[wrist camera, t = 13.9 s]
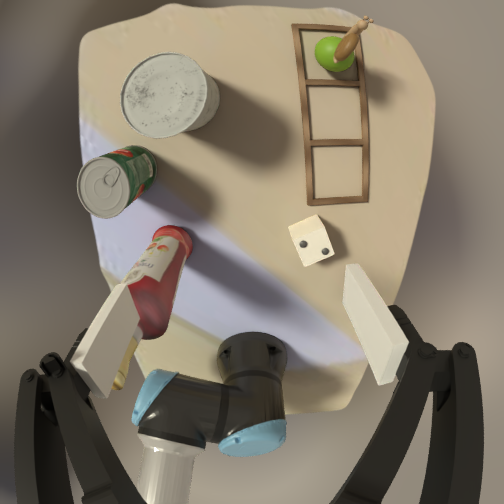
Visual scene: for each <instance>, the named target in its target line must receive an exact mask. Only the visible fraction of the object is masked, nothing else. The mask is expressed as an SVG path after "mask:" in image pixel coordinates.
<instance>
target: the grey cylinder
mask: <svg viewBox="0 0 504 504" xmlns="http://www.w3.org/2000/svg"><path fill="white" fill-rule="evenodd" d="M219 103H220V93H219V88H218V86H217V84H216V82H215V81H214V80H213V79H212V77H210V76H209V75H208V74H207V73H206V72H205V71H203V70H202V69H201V67H200V66H199V65H198V64H197V63H196V62H195V61H194V60H192V59H191V58H189V57H188V56H185V55H183V54H180V53H174V52H164V53H158V54H155V55H152V56H149V57H147V58H146V59H144V60H142V61H141V62H139V63H138V64H137V65H136V66H135V67H134V68H133V69H132V70H131V71H130V73H129V74H128V75H127V77H126V79H125V81H124V83H123V85H122V90H121V94H120V106H121V111H122V114H123V116H124V118H125V120H126V122H127V123H128V124H129V126H130V127H131V128H132V129H133V130H135V131H136V132H137V133H139V134H141V135H144V136H146V137H150V138H168V137H171V136H175V135H177V134H179V133H182V132H186V131H191V130H195V129H198V128H200V127H202V126H204V125H205V124H207V123H208V122H209V121H210V120H211V119H212V118H213V117H214V115H215V114H216V112H217V110H218V107H219Z"/></svg>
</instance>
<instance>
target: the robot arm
mask: <svg viewBox="0 0 504 504" xmlns="http://www.w3.org/2000/svg"><path fill="white" fill-rule="evenodd" d="M342 303H343V305H344V307H345V309H346V312H347V314H348V316H349V318H350V320H351V322H352V325H353V327H354V329H355V331H356V334H357V336H358V338H359V340H360V343H361V345H362V347H363V350H364V352H365V354H366V357H367V359H368V362H369V364H370V366H371V369H372V371H373V373H374V376H375V379H376V381H377V383H378V385H383V384H387V383H390V382H393V380H394V377H395V375H397V377H398V380H399V382H398V384H397V386H396V388H395V390H394V392H393V395H392V398H391V400H390V402H389V404H388V406H387V409H386V411H385V413H384V415H383V417H382V419H381V421H380V423H379V425H378V427H377V429H376V431H375V433H374V435H373V437H372V439H371V440H370V442H369V444H368V446H367V447H366V449H365V451H364V453H363V454H362V456H361V458H360V459H359V461H358V463H357V464H356V466H355V467H354V469H353V471H352V472H351V474H350V475H349V477H348V479H347V480H346V482H345V483H344V484H343V486H342V487H341V489H340V490H339V492H338V493H337V494H336V496H335V497H334V499H333V500H332V501H331V502H330V503H329V504H381V502H382V499H383V497H384V495H385V494H386V492H387V490H388V488H389V486H390V485H391V483H392V481H393V479H394V477H395V475H396V473H397V472H398V469H399V467H400V465H401V463H402V461H403V459H404V457H405V454H406V452H407V450H408V448H409V446H410V443H411V441H412V439H413V436H414V434H415V431H416V429H417V426H418V423H419V420H420V418H421V415H422V412H423V409H424V406H425V403H426V400H427V397H428V394H429V392H432V391H433V413H432V427H431V438H430V448H429V455H428V463H427V468H426V475H425V480H424V484H423V489H422V494H421V498H420V502H419V504H479V498H480V491H481V482H482V472H483V455H484V453H483V452H484V424H483V406H482V394H481V385H480V377H479V370H478V364H477V358H476V353H475V350H474V348H473V347H472V346H471V345H469V344H467V343H464V342H459V343H457V344H455V345H454V347H453V349H452V350H437V349H436V348H435V347H434V346H433V345H432V344H430V343H425V342H424V341H423V340H422V338H421V337H420V335H419V334H418V332H417V331H416V329H415V327H414V326H413V324H411V321H410V320H409V319H408V318H407V315H406V314H405V313H404V311H403V310H402V309H401V308H399V307H398V306H397V305H391V306H386V304H385V302H384V301H383V299H382V298H381V296H380V295H379V293H378V292H377V290H376V289H375V287H374V286H373V284H372V283H371V281H370V280H369V278H368V277H367V275H366V274H365V272H364V271H363V270H362V268H361V267H360V265H359V264H358V263H356V264H347V265H346V272H345V283H344V292H343V302H342ZM139 320H140V317H139V315H138V312H137V310H136V307H135V305H134V302H133V299H132V297H131V294H130V291H129V289H128V286H127V284H117V285H116V286H115V288H114V289H113V291H112V292H111V294H110V295H109V297H108V298H107V300H106V301H105V303H104V305H103V306H102V308H101V309H100V311H99V312H98V314H97V316H96V317H95V319H94V321H93V322H92V324H91V325H90V327H89V328H86V329H85V330H84V331H83V332H82V333H81V334H79V336H78V338H77V340H76V342H75V343H74V345H73V347H72V348H71V350H70V352H69V353H68V355H67V357H66V359H65V361H64V362H63V360H62V359H61V357H60V356H59V355H58V354H57V353H55V352H52V353H49V354H47V355H45V356H44V357H43V358H42V359H41V361H40V368H41V369H42V370H43V372H44V373H45V375H40V374H39V373H38V372H37V371H36V370H35V369H29V370H27V371H26V372H24V373H23V375H22V377H21V380H20V386H19V393H18V401H17V410H16V422H15V440H14V467H15V485H16V494H17V503H18V504H74V502H73V496H72V491H71V486H70V481H69V475H68V468H67V460H66V452H65V446H66V449H67V452H68V455H69V458H70V460H71V463H72V465H73V468H74V471H75V473H76V476H77V478H78V480H79V482H80V485H81V487H82V489H83V492H84V496H83V497H82V503H83V504H188V500H189V493H190V486H191V479H192V471H193V464H194V458H195V457H196V456H197V455H199V454H200V453H202V452H204V451H205V446H206V442H211V443H217V444H219V445H218V447H219V449H220V451H221V452H222V453H223V454H227V455H229V456H235V457H248V456H256V455H261V454H265V453H268V452H271V451H273V450H276V449H277V448H279V447H280V446H281V445H282V444H283V443H284V442H285V439H286V424H287V422H286V420H285V411H284V401H283V392H282V383H281V381H282V378H283V375H284V371H285V368H286V364H287V353H286V348H285V346H284V345H283V343H282V342H281V341H280V340H278V339H277V338H275V337H273V336H271V335H268V334H265V333H260V332H245V333H240V334H236V335H234V336H231V337H229V338H228V339H226V340H225V341H224V342H223V343H222V344H221V345H220V347H219V349H218V355H217V364H218V367H219V370H220V373H221V376H222V379H223V384H221V383H216V382H212V381H207V380H203V379H199V378H195V377H190V376H186V375H183V374H179V372H171V371H166V370H162V369H156V370H153V371H152V372H151V373H150V374H149V375H148V376H147V378H146V380H145V382H144V384H143V386H142V388H141V390H140V393H139V395H138V398H137V401H136V404H135V409H134V412H133V414H132V422H133V424H135V425H136V426H139V430H138V437H139V438H140V440H141V441H142V443H143V445H144V451H143V456H142V462H141V467H140V473H139V479H138V485H137V489H136V487H135V485H134V484H133V482H132V481H131V479H130V477H129V476H128V474H127V473H126V471H125V469H124V467H123V465H122V464H121V462H120V460H119V458H118V456H117V455H116V453H115V451H114V449H113V447H112V445H111V443H110V441H109V439H108V437H107V435H106V433H105V430H104V428H103V426H102V424H101V422H100V419H99V417H98V415H97V413H96V410H95V407H94V405H93V403H92V400H91V398H90V397H89V396H88V395H89V392H90V390H91V392H92V393H93V394H94V395H95V397H99V398H105V399H107V398H108V395H109V393H110V390H111V388H112V385H113V382H114V380H115V377H116V375H117V372H118V370H119V367H120V365H121V362H122V360H123V357H124V355H125V352H126V350H127V347H128V345H129V343H130V340H131V338H132V336H133V333H134V331H135V329H136V327H137V324H138V322H139Z"/></svg>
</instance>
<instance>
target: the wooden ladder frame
mask: <svg viewBox="0 0 504 504" xmlns="http://www.w3.org/2000/svg"><path fill="white" fill-rule="evenodd" d="M291 26H292V32H293V39H294V47H295V54H296V62H297V71H298V80H299V89H300V99H301V110H302V122H303V135H304V149H305V166H306V186H307V205H320V204H334V203H350V202H368V168H369V152H368V118H367V101H366V89H365V78H364V69H363V60H362V53H361V46H360V39H359V42H358V44H357V46H356V48H355V55H356V63H357V72H358V81H348V80H323V79H305V76H304V67H303V59H302V51H301V44H300V37H299V30H298V29H306V30H328V31H340V32H348V31H349V30H350V29H351V28H352V27H345V26H334V25H320V24H292V25H291ZM358 37H359V35H358ZM306 85H340V86H358V87H359V92H360V105H361V123H362V139H324V140H310V131H309V118H308V106H307V95H306ZM316 145H362V196H350V197H333V198H318V199H313V188H312V165H311V146H316Z"/></svg>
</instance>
